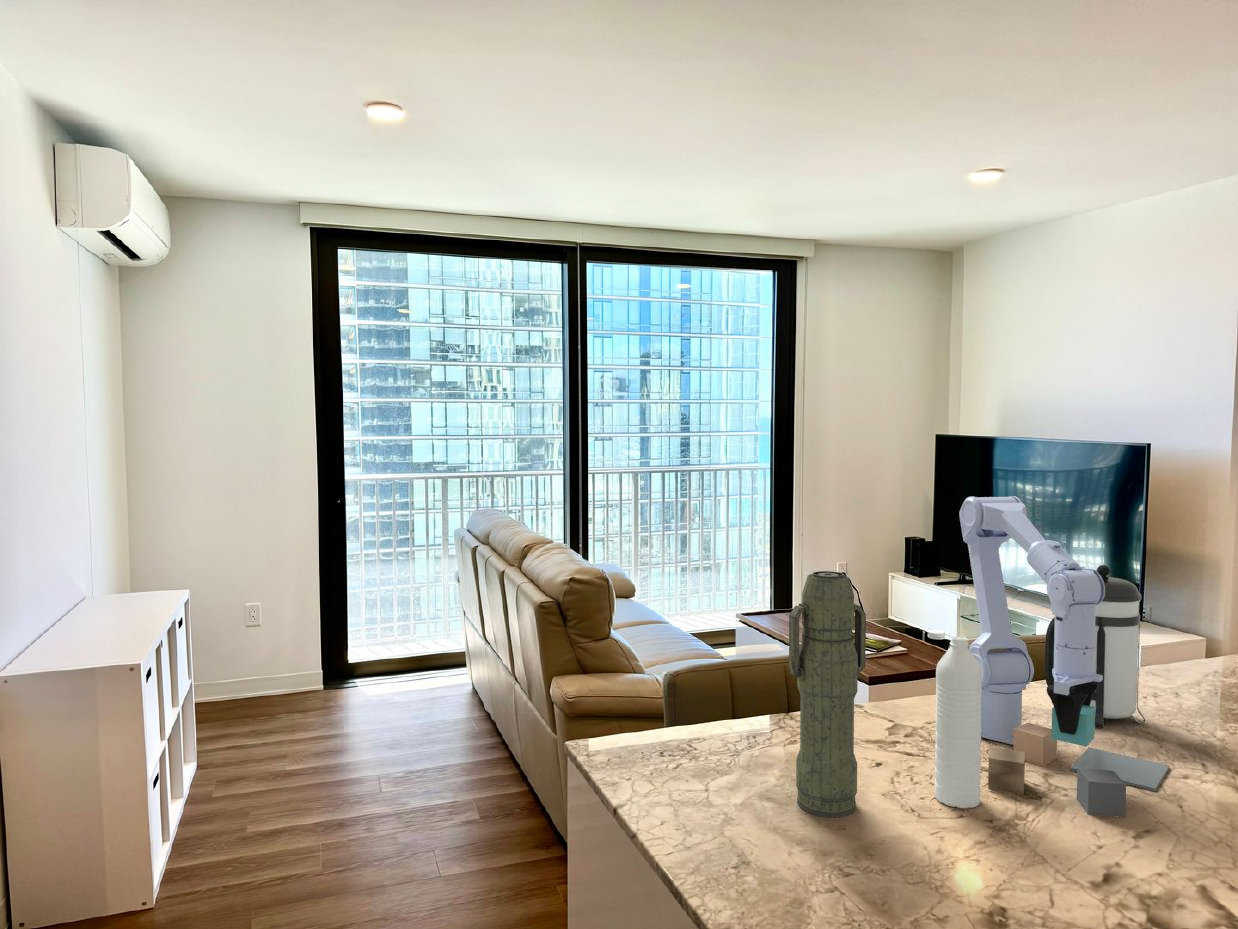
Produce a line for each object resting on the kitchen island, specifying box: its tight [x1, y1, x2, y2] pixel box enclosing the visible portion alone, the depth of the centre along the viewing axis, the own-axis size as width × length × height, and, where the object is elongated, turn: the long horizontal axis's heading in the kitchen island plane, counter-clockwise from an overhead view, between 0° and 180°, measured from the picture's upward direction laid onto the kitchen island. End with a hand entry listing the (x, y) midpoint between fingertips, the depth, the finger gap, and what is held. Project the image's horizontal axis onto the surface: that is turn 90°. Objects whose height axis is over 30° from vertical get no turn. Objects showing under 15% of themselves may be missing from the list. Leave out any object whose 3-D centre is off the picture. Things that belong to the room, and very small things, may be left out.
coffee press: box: [1044, 564, 1146, 729], centre depth 162 cm, size 17×16×30 cm
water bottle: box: [927, 629, 982, 809], centre depth 128 cm, size 9×6×25 cm
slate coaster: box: [1069, 746, 1170, 792], centre depth 138 cm, size 12×12×1 cm
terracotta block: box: [1013, 722, 1058, 767], centre depth 143 cm, size 5×5×5 cm
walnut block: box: [987, 746, 1026, 796], centre depth 132 cm, size 5×5×5 cm
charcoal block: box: [1076, 768, 1127, 818], centre depth 124 cm, size 5×5×5 cm
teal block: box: [1051, 705, 1096, 747], centre depth 134 cm, size 5×5×5 cm
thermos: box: [788, 570, 867, 818], centre depth 125 cm, size 9×12×35 cm
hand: (1072, 728), depth 134 cm, fingers closed on teal block, 5 cm apart
